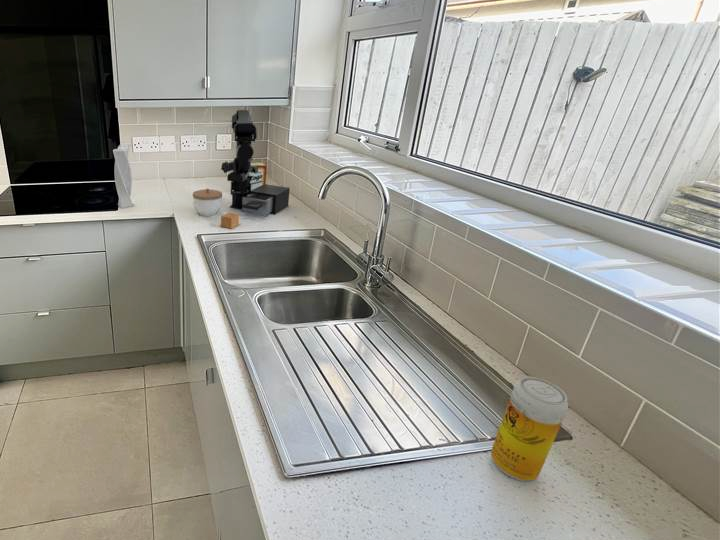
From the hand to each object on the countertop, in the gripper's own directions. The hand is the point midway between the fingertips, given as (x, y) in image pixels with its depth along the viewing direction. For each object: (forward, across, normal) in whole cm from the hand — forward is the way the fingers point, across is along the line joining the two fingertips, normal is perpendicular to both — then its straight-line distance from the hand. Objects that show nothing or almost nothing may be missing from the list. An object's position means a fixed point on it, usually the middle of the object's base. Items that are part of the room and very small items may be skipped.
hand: (242, 194), depth 162 cm
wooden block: (+12, +7, -2) cm, 14 cm away
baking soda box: (+12, -38, -8) cm, 41 cm away
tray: (+11, -12, +3) cm, 16 cm away
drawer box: (+12, -23, +5) cm, 26 cm away
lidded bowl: (+12, -3, -17) cm, 21 cm away
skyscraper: (+12, +2, -56) cm, 58 cm away
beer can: (+12, +88, +78) cm, 118 cm away
